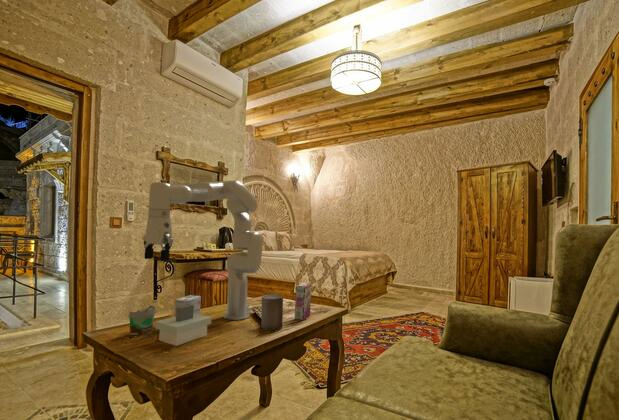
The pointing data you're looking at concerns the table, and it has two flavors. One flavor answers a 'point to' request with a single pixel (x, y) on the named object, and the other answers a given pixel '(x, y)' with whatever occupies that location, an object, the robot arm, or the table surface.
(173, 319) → the lid
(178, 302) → the light bulb box
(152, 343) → the table surface
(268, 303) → the pillar candle
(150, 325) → the food container
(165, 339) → the tub
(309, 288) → the candy bar box
